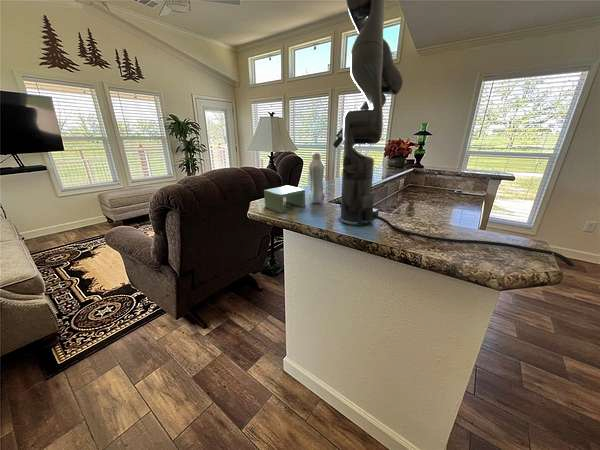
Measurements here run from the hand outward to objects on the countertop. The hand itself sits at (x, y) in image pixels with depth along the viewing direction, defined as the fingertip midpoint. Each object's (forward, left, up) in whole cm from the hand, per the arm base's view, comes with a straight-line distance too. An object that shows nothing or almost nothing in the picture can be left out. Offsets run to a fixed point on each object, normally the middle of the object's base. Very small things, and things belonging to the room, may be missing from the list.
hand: (340, 146), depth 95 cm
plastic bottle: (+3, +11, -22) cm, 25 cm away
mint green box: (+8, +24, -22) cm, 33 cm away
